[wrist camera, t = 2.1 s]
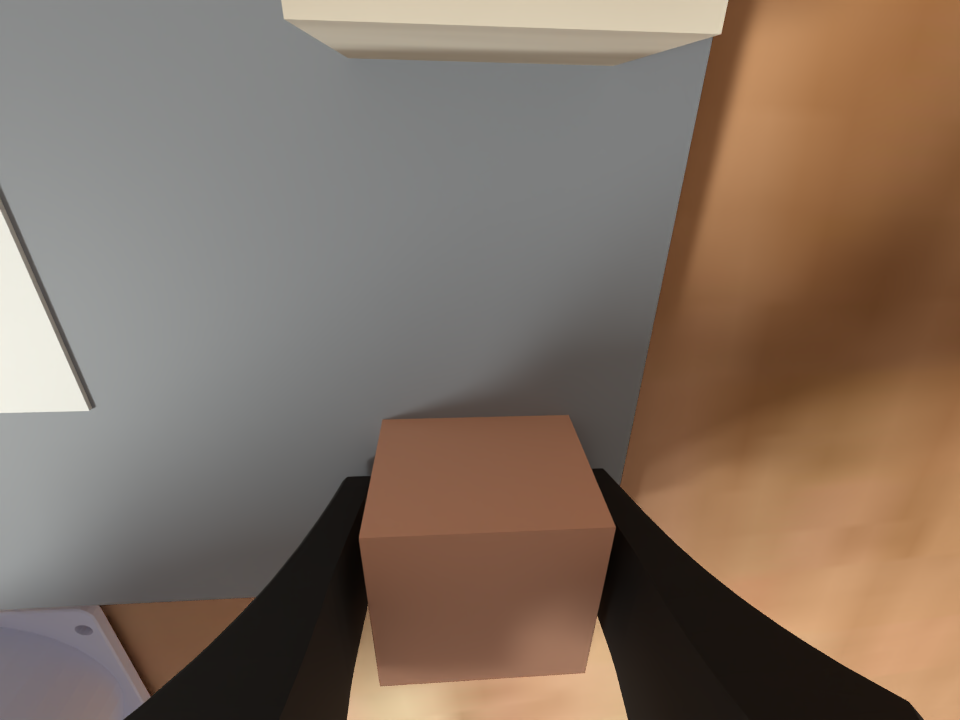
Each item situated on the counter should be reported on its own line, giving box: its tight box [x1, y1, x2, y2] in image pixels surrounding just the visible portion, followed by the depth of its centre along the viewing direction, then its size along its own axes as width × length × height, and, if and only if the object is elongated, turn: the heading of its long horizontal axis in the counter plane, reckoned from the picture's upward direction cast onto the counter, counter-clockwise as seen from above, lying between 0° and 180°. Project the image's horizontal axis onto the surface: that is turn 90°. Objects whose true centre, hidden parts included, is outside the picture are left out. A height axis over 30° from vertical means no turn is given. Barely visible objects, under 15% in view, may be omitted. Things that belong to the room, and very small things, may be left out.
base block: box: [359, 415, 616, 686], centre depth 11 cm, size 5×5×4 cm
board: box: [0, 0, 713, 610], centre depth 10 cm, size 20×22×1 cm
